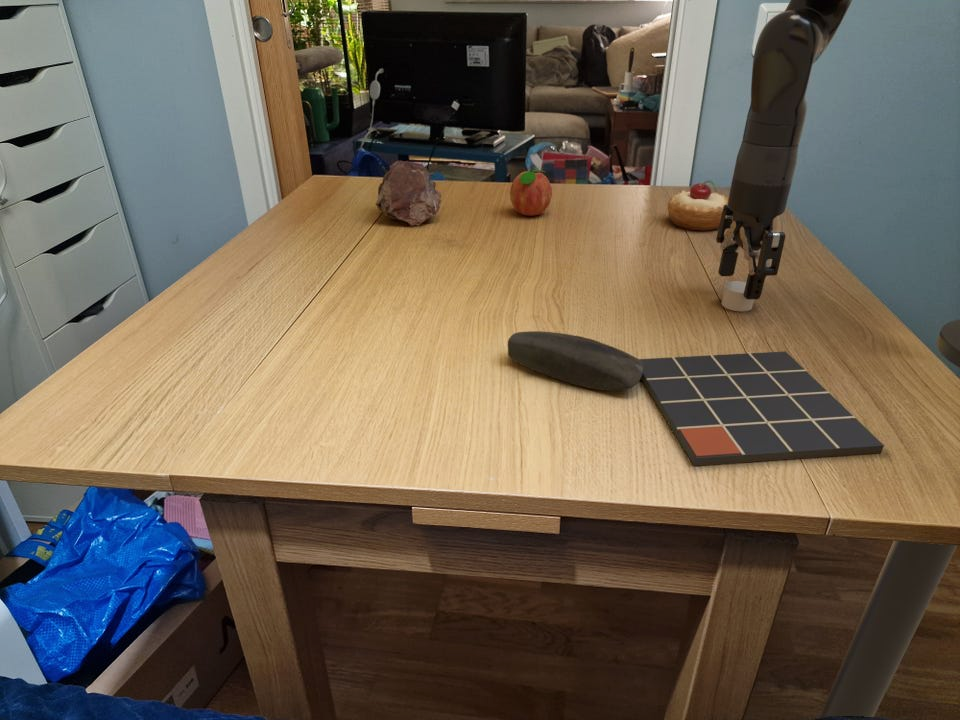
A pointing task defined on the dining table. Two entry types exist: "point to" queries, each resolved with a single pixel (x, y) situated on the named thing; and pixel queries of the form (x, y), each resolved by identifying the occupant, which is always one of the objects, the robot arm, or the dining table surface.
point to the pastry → (697, 208)
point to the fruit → (531, 192)
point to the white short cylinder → (736, 297)
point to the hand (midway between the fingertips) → (737, 286)
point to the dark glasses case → (576, 360)
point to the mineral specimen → (408, 193)
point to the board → (751, 409)
